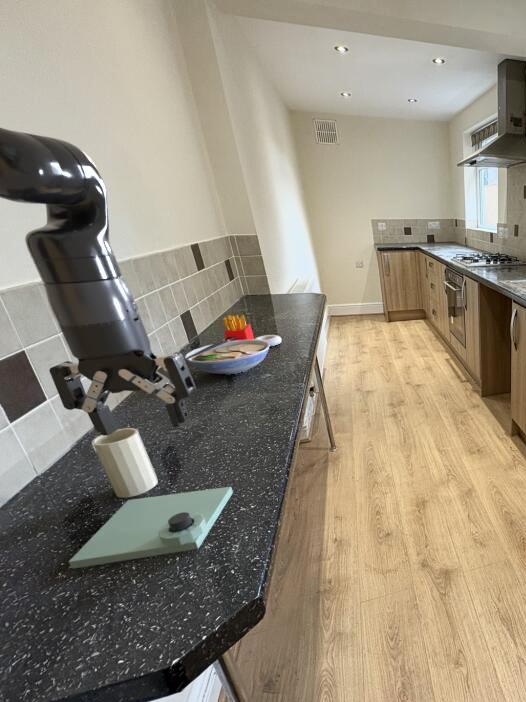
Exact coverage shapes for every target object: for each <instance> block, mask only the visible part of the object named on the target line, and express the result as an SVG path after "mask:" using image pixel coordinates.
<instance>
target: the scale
mask: <svg viewBox="0 0 526 702" xmlns="http://www.w3.org/2000/svg"><path fill="white" fill-rule="evenodd" d="M233 493H234V491H233V489H232V486H223V487H217V488H209V489H203V490H201V489H200V490H195V491H194V490H193V491H188V492H186V491H185V492H180V493H172V494H164V495H157V496H150V497H142V498H134V499H127V501H125V502H124V504H123V505H122V506H121V507H120V508H119V509H118V510H117V511H116V512H115V513H114V514H113V515H112V516H111V517H110V518H109V519H108V520H107V521H106V522H105V524H103V525H102V526H101V527H100V528H99V530H97V531H96V533H95V534H94V535H93V536H92V537H91V538H89V540H87V542H86V543H85V544H84V545H82V547H81V548H80V549H79V550H78V551H77V552H76V553H75V554H74V555H73V556H72V557H71V558H70V559H69V561H68V564H69V566H70V567H71V569H73V570H74V569H78V568H79V569H80V568H85V567H93V566H98V565H105V564H110V563H116V562H117V563H118V562H123V561H130V560H136V559H143V558H150V557H154V556H155V557H156V556H160V555H168V554H173V553H179V552H185V551H186V552H187V551H192V550H198V549H199V548H200V547H201V545H202V543H203V542H204V540H205V539H206V537H207V536H208V534H209V532H210V531H211V529H212V527H213V525H214V524H215V523H216V521H217V520H218V517H219V516H220V515H221V513H222V511H223V509H225V506H226V505H227V503H228V502H229V500H230V499H231V497H232V495H233ZM183 512H187V513H189V515H190V517H191V520H192V523H193V524H192V526H190V527H189V528H187V529H186V530H183V531H181V532H175V533H174V532H172V531H171V528H170V526H169V523H168V520H169V519H170V518H171V517H172V516H174V515H176V514H179V513H183Z"/></svg>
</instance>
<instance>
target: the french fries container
mask: <svg viewBox="0 0 526 702" xmlns="http://www.w3.org/2000/svg"><path fill="white" fill-rule="evenodd" d="M226 316H227V317H223V318H222V319H221V321H222V323H223V324H224V326H225V329H226V330H224V331H223V332H224V336H225V338H227V337H230V338H232V337H234V336H236V337H237V338H236V339H233V340H231V341H236V340H254V339H255V337H254V333H253V330H252V326H251V323H247V322H246V318H245V315H244V314H241V315H240V317H239V315H238V314H234V315H230V314H228V315H226Z"/></svg>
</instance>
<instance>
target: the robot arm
mask: <svg viewBox="0 0 526 702" xmlns="http://www.w3.org/2000/svg"><path fill="white" fill-rule="evenodd" d="M107 197H108V196H107V191H106V186H105V182H104V178H103V176H102V175H101V172H100V171H99V169H98V168H97V166H96V165H95V163H94V162H93V160H92V159H91V158H90V157H89V155H87V154H86V153H85V152H84V151H83V150H82V149H81V148H79V147H78V146H76V145H75V144H73V143H71V142H68V141H67V140H66V141H65V140H63V139H60V138H55V137H49V136H45V135H38V134H33V133H28V132H22V131H17V130H11V129H7V128H4V127H0V199H4V200H7V201H11V202H16V203H19V204H27V205H28V204H30V205H45V210H46V224H45V225H44V226H41V227H38V228H35V229H33V230H31V231H28V232H27V233H26V234H25V237H24V241H25V246H26V249H27V251H28V254H29V255H30V258H31V259H32V262H33V264H34V266H35V268H36V271H37V273H38V276H39V277H40V279H41V282H42V283H43V284H42V285H43V287H44V289H45V293H46V298H47V301H48V304H49V307H50V309H51V311H52V314H53V315H54V318H55V320H56V322H57V324H58V326H59V329H60V331H61V333H62V335H63V337H64V340H65V342H66V344H67V346H68V348H69V351H70V352H71V355H72V356H73V357H74V358H76V359H77V361H78V362H77V363H74V362H73V361H70V360H66V361H63V362H61V363H58V364H56V365H54V366H52V367H50V368H49V374H50V376H51V378H52V381H53V384H54V386H55V389H56V391H57V393H58V396H59V399H60V401H61V403H62V405H63V408H64V409H66V410H69V411H71V410H72V411H73V410H74V409H75V410H80V411H81V410H82V411H83V412H85V413H87V415H88V417H89V419H90V421H91V423H92V426H93V428H94V430H95V431H97V433H100V434H101V435H103V436H105V435H111V434H112V433H113V432H115V431H116V430H118V424H117V423H116V420H115V418H114V416H113V413H112V411H111V409H110V407H109V405H107V404H106V401H107V400H108V398H109V395H110V394H118V393H119V394H120V393H122V392H125V391H126V392H139V391H144V392H146V393H147V394H149V395H152V396H155V397H158V398H159V399H160V400H162V401H163V402H165V403H166V404H165V405H164V406H165V408H166V411H167V414H168V416H169V419H170V422H171V424H172V427H173V428H181V427H183V426H184V425H185V424H186V423H187V421H188V419H189V416H190V415H189V412H188V409H187V405H186V402H185V400H184V399H187V398H188V397H190V396H191V394H192V393H194V392H195V391H197V386H196V384H195V381H194V379H193V377H192V374H191V372H190V369H189V367H188V365H187V362H186V360H184V359H185V357H184V356H183V354H182V353H181V352H179V351H175V352H173V353H171V354H168V355H162V356H157V355H156V354H155V353H154V352H153V351H152V349H151V343H150V342H151V341H150V338H149V336H148V333H147V330H146V328H145V325H144V323H143V320H142V317H141V315H140V312H139V308H138V305H137V303H136V301H135V298H134V296H133V294H132V291H131V290H130V288H129V286H128V285H127V283H126V281H125V279H124V276H123V274H122V272H121V269H120V267H119V264H118V260H117V258H116V256H115V253H114V251H113V248H112V246H111V243H110V220H109V209H108V198H107ZM159 367H160V368H162V370H163V371H164V372H167V373H168V375H169V377H170V379H169V378H168V377H167V376H165V375H163V374H162V373H161V372H160V371H158V369H159ZM82 376H83V377H84V378H86V379H88V380H89V381H91V383H90V385H89V387H88V390H87V391H85V388H84V385H83V383H82V380H81V377H82ZM152 381H153V382H152ZM105 404H106V405H105Z"/></svg>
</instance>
